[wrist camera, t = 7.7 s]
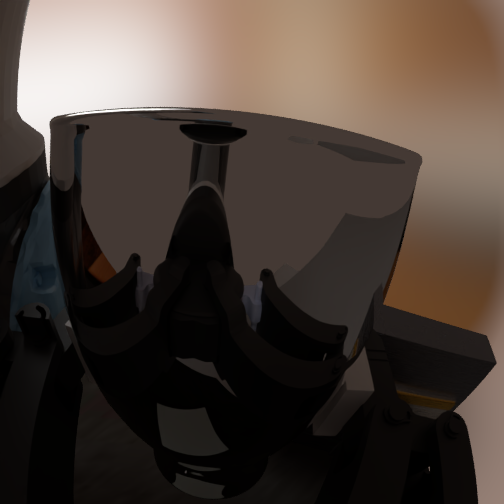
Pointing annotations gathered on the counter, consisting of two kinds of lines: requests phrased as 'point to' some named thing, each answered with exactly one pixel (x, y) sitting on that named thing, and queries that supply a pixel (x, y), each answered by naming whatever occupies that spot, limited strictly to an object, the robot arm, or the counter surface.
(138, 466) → the counter surface
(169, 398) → the beer glass
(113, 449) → the counter surface
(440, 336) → the label panel
